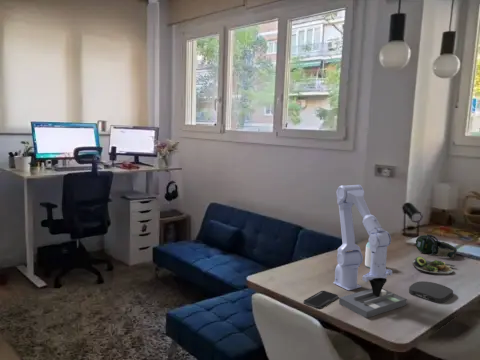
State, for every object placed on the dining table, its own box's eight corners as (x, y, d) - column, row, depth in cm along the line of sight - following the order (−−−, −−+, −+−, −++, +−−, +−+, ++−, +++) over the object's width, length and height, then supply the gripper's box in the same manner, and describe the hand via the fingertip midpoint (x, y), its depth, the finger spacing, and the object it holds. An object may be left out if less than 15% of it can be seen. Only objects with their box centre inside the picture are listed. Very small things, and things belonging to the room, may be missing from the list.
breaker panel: (339, 303, 168) (339, 294, 167) (378, 292, 179) (378, 283, 178) (366, 318, 156) (366, 308, 155) (406, 305, 167) (406, 296, 166)
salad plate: (447, 263, 216) (448, 254, 215) (463, 276, 198) (464, 267, 198) (408, 262, 217) (409, 253, 217) (420, 275, 200) (421, 265, 199)
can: (382, 267, 208) (384, 244, 206) (371, 269, 205) (372, 245, 203) (373, 263, 214) (374, 240, 212) (361, 264, 211) (363, 241, 210)
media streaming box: (455, 295, 177) (456, 288, 177) (440, 305, 168) (441, 298, 167) (421, 284, 188) (421, 278, 188) (405, 293, 178) (405, 287, 178)
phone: (302, 301, 168) (322, 290, 179) (302, 304, 168) (322, 292, 179) (319, 307, 162) (339, 295, 173) (319, 310, 163) (339, 298, 174)
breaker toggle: (374, 294, 170) (375, 289, 170) (378, 292, 171) (379, 288, 171) (381, 297, 167) (382, 292, 167) (386, 296, 168) (386, 291, 168)
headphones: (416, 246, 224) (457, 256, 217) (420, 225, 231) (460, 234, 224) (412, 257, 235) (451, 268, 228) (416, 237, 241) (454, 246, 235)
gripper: (373, 268, 159) (371, 303, 161) (399, 262, 166) (397, 295, 168) (359, 262, 165) (357, 296, 167) (384, 256, 172) (382, 288, 174)
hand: (376, 295), depth 168 cm, fingers closed
